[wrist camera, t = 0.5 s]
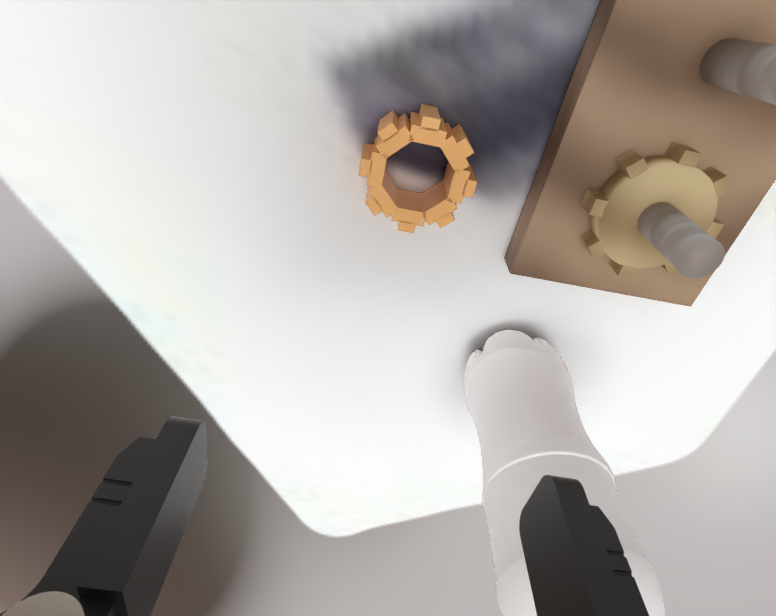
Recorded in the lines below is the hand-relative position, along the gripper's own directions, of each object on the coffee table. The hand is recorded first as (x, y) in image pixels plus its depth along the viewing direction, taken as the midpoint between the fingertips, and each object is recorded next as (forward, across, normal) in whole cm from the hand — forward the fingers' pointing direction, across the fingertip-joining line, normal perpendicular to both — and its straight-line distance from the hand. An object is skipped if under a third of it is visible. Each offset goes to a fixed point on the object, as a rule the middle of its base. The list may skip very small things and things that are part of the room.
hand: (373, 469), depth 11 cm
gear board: (+20, -14, -10) cm, 27 cm away
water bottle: (+20, -11, +12) cm, 26 cm away
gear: (+20, -1, -1) cm, 20 cm away
